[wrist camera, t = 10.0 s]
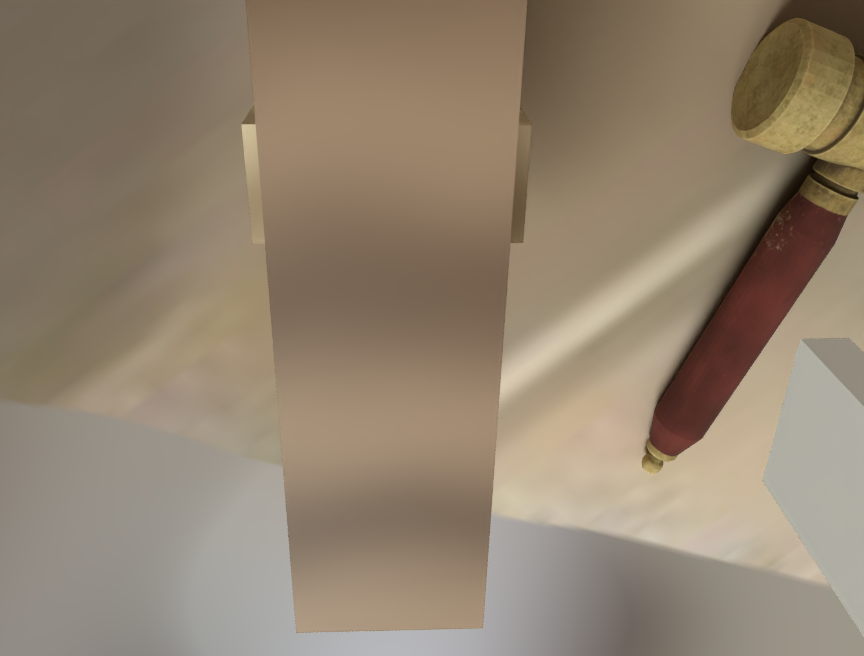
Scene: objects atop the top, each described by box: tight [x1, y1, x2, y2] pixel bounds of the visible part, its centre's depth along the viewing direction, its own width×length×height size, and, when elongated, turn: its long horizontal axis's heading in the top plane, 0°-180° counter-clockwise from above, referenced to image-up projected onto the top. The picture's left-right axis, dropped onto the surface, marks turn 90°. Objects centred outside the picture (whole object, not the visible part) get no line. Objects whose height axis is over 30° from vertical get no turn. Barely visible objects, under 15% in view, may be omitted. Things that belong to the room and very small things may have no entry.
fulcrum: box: [242, 105, 532, 244], centre depth 28 cm, size 12×8×10 cm, turn 179°
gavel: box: [642, 18, 864, 474], centre depth 35 cm, size 21×5×10 cm
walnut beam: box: [246, 0, 527, 633], centre depth 20 cm, size 20×5×7 cm, turn 179°
